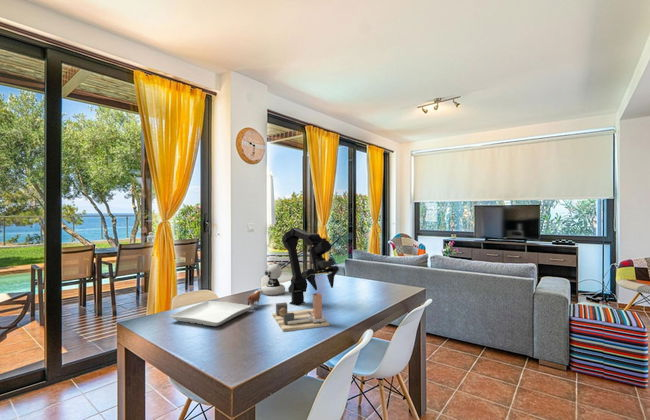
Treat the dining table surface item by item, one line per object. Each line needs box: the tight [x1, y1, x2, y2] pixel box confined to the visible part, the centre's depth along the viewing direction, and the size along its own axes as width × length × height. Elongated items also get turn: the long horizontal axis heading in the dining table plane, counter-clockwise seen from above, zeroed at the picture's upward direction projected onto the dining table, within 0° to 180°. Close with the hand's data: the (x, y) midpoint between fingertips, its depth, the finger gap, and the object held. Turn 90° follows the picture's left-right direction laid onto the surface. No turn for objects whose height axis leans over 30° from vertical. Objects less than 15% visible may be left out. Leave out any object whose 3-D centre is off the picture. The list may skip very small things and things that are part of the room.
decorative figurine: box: [260, 261, 286, 296], centre depth 205 cm, size 15×15×20 cm
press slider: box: [283, 292, 327, 325], centre depth 148 cm, size 6×18×12 cm, turn 110°
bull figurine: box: [247, 288, 265, 310], centre depth 177 cm, size 4×13×8 cm, turn 161°
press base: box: [272, 302, 331, 333], centre depth 154 cm, size 23×21×6 cm
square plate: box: [169, 300, 252, 327], centre depth 160 cm, size 27×27×4 cm
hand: (324, 288), depth 160 cm, fingers open, 9 cm apart
